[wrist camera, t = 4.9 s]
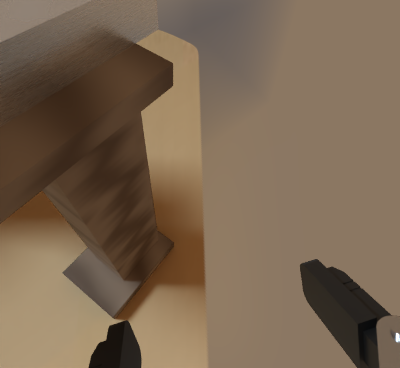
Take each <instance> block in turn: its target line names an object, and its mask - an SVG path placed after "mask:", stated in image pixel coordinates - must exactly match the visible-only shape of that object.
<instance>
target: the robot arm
mask: <svg viewBox="0 0 400 368" xmlns="http://www.w3.org/2000/svg"><path fill="white" fill-rule="evenodd" d="M300 271H301V278H302V285H303V292H304V295H305V297H306V300H307V301H308V303H309V305H310V306H311V307H312V309H313V310H314V311H315V313H316V314H317V315H318V317H319V318H320V319H321V321H322V322H323V323H324V324H325V326H326V327H327V328H328V330H329V331H330V332H331V334H332V335H333V336H334V337H335V339H336V340H337V342H338V343H339V344H340V346H341V347H342V348H343V350H344V351H345V352H346V354H347V355H348V356H349V357H350V359H351V360H352V361H353V363H354V364H355V365H356V367H357V368H400V316H392V315H391V314H390V313H388V312H387V311H386V310H385V309H384V308H383V307H382V306H381V305H380V304H378V303H377V302H376V301H375V300H374V299H373V298H372V297H371V296H370V295H369V294H368V293H366V292H365V291H364V290H363V289H361V288H360V286H359V285H358V284H357V283H355V282H353V280H352V279H351V278H350V277H349V276H348V275H347V274H346V273H344V272H343V271H341V270H338V269H336V268H334V267H330V268H326V267H325V266H324V265H323V264H322V263H321V262H319V260H317V259H315V260H312V261H308V262H305V263H302V264H301V265H300ZM89 368H141V352H140V347H139V344H138V342H137V340H136V337H135V335H134V333H133V330H132V328H131V326H130V323H129V322H128V321H127V320H126V321H123V322H120V323H117V324H114V325H110V326H109V329H108V334H107V339H106V341H103V342H100V343H99V344H98V345H97V347H96V349H95V351H94V352H93V354H92V356H91V360H90V364H89Z"/></svg>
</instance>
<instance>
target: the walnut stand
mask: <svg viewBox="0 0 400 368" xmlns="http://www.w3.org/2000/svg"><path fill="white" fill-rule="evenodd" d="M172 86H173V63H172V62H170V61H168V60H166V59H164V58H162V57H160V56H158V55H156V54H154V53H153V52H151V51H149V50H147V49H145V48H143V47H141V46H139V45H137V44H136V43H135V44H134V45H132V46H130V47H129V48H127V49H126V50H124V51H122V52H121V53H119V54H117V55H116V56H114V57H113V58H111V59H109V60H108V61H106V62H104V63H103V64H101V65H100V66H98V67H96V68H95V69H93V70H91V71H90V72H88V73H87V74H85V75H83V76H82V77H80V78H78V79H77V80H75V81H74V82H72V83H70V84H69V85H67V86H66V87H64V88H62V89H61V90H59V91H57V92H56V93H54V94H53V95H51V96H49V97H48V98H46V99H44V100H43V101H41V102H40V103H38V104H36V105H35V106H33V107H31V108H30V109H28V110H27V111H25V112H23V113H22V114H20V115H18V116H17V117H15V118H14V119H12V120H10V121H9V122H7V123H5V124H4V125H2V126H1V127H0V223H1V222H3V221H4V220H5V219H6V218H8V217H9V216H10V215H11V214H13V213H14V212H15V211H17V210H18V209H19V208H20V207H22V206H23V205H24V204H25V203H27V202H28V201H29V200H30V199H32V198H33V197H34V196H35V195H37V194H38V193H39V192H40V191H43V192H44V193H45V194H46V196H47V197H48V198H49V199H50V201H51V202H52V203H53V204H54V205H55V207H56V208H57V209H58V210H59V212H60V213H61V214H62V215H63V217H64V218H65V219H66V220H67V222H68V223H69V224H70V225H71V227H72V228H73V229H74V230H75V232H76V233H77V234H78V235H79V237H80V238H81V239H82V240H83V242H84V243H85V244H86V245H87V247H88V248H87V249H86V250H85V251H84V252H83V253H82V254H81V255H80V256H79V257H78V258H77V259H76V260H75V261H74V262H73V263H72V264H71V265H70V266H69V267H68V268H67V269H66V270H65V271H64V272H63V274H64V275H65V276H66V277H67V278H69V279H70V280H71V281H72V282H73V283H74V284H75V285H76V286H78V287H79V288H80V289H81V290H82V291H83V292H84V293H85V294H87V295H88V296H89V297H90V298H91V299H92V300H93V301H94V302H96V303H97V304H98V305H99V306H100V307H101V308H102V309H103V310H105V311H106V312H107V313H108V314H109V315H110V316H111V317H112V318H114V319H115V318H116V317H117V316H118V315H119V313H120V312H121V311H122V310H123V308H124V307H125V306H126V305H127V303H128V302H129V301H130V300H131V298H132V297H133V296H134V295H135V293H136V292H137V291H138V290H139V289H140V287H141V286H142V285H143V284H144V282H145V281H146V280H147V279H148V277H149V276H150V275H151V274H152V272H153V271H154V270H155V269H156V267H157V266H158V265H159V264H160V262H161V261H162V260H163V259H164V258H165V256H166V255H167V254H168V253H169V251H170V250H171V249H172V248H173V246H174V242H172V241H171V240H170V239H168V238H167V237H165V236H164V235H163V234H161V233H160V232H159V231H157V226H156V219H155V212H154V204H153V197H152V190H151V183H150V175H149V168H148V161H147V154H146V146H145V139H144V132H143V124H142V117H141V111H142V110H143V109H145V108H146V107H147V106H148V105H150V104H151V103H152V102H153V101H155V100H156V99H157V98H158V97H160V96H161V95H162V94H163V93H165V92H166V91H167V90H168V89H170V88H171V87H172Z"/></svg>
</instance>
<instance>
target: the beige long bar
mask: <svg viewBox="0 0 400 368" xmlns="http://www.w3.org/2000/svg"><path fill="white" fill-rule="evenodd" d="M156 30H158V19H157V0H0V127H1V126H2V125H4V124H5V123H7V122H9V121H10V120H12V119H14V118H15V117H17V116H18V115H20V114H22V113H23V112H25V111H27V110H28V109H30V108H31V107H33V106H35V105H36V104H38V103H40V102H41V101H43V100H44V99H46V98H48V97H49V96H51V95H53V94H54V93H56V92H57V91H59V90H61V89H62V88H64V87H66V86H67V85H69V84H70V83H72V82H74V81H75V80H77V79H78V78H80V77H82V76H83V75H85V74H87V73H88V72H90V71H91V70H93V69H95V68H96V67H98V66H100V65H101V64H103V63H104V62H106V61H108V60H109V59H111V58H113V57H114V56H116V55H117V54H119V53H121V52H122V51H124V50H126V49H127V48H129V47H130V46H132V45H134V44H135V43H137V42H139V41H140V40H142V39H143V38H145V37H147V36H148V35H150V34H152V33H153V32H155V31H156Z"/></svg>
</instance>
